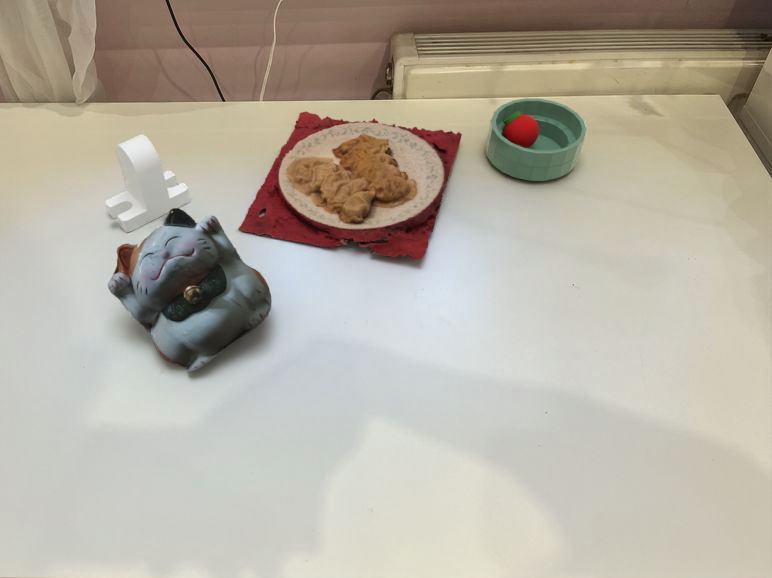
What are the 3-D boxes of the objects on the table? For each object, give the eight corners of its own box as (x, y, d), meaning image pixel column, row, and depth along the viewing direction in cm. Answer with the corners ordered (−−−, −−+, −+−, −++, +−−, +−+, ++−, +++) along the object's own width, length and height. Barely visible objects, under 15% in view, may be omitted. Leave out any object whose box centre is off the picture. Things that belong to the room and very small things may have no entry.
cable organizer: (192, 200, 91) (178, 136, 84) (127, 233, 88) (106, 170, 80) (171, 181, 94) (156, 117, 86) (107, 212, 91) (85, 148, 83)
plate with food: (460, 144, 97) (464, 123, 94) (422, 266, 82) (424, 245, 79) (301, 120, 102) (300, 99, 100) (238, 230, 87) (234, 209, 85)
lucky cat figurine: (165, 391, 73) (86, 288, 65) (159, 340, 83) (91, 246, 76) (288, 322, 72) (222, 211, 65) (267, 279, 83) (208, 179, 75)
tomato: (544, 133, 95) (525, 103, 94) (546, 138, 91) (526, 107, 90) (514, 153, 97) (496, 124, 96) (515, 159, 93) (495, 128, 92)
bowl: (568, 130, 98) (577, 98, 94) (582, 185, 91) (594, 153, 87) (481, 128, 99) (487, 97, 95) (489, 183, 91) (496, 152, 87)
